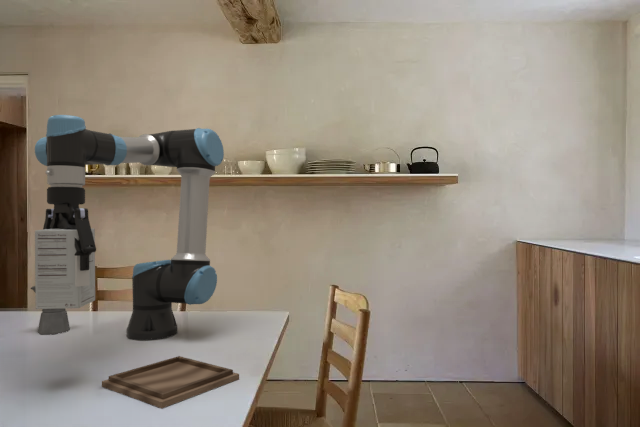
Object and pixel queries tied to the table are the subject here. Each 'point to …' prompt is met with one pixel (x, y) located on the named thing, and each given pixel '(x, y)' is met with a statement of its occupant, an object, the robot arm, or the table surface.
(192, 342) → the table surface
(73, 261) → the supplement box
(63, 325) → the coffeepot
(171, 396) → the walnut tray
